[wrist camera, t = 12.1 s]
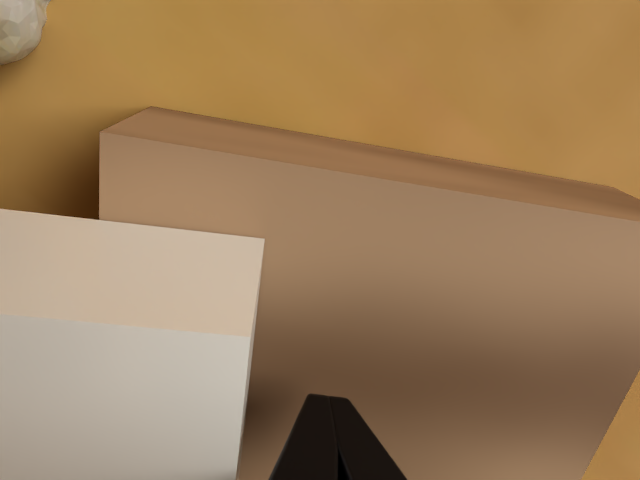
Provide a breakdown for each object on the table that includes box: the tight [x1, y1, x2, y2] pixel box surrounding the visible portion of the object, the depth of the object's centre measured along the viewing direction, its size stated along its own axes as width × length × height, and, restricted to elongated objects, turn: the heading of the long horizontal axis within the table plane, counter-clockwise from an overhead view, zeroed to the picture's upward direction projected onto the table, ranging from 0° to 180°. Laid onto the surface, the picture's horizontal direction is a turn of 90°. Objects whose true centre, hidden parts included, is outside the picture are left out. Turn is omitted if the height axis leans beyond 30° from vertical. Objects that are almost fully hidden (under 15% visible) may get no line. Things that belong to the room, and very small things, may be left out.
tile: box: [0, 209, 265, 480], centre depth 8 cm, size 6×6×3 cm
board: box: [99, 106, 640, 480], centre depth 11 cm, size 9×11×3 cm
